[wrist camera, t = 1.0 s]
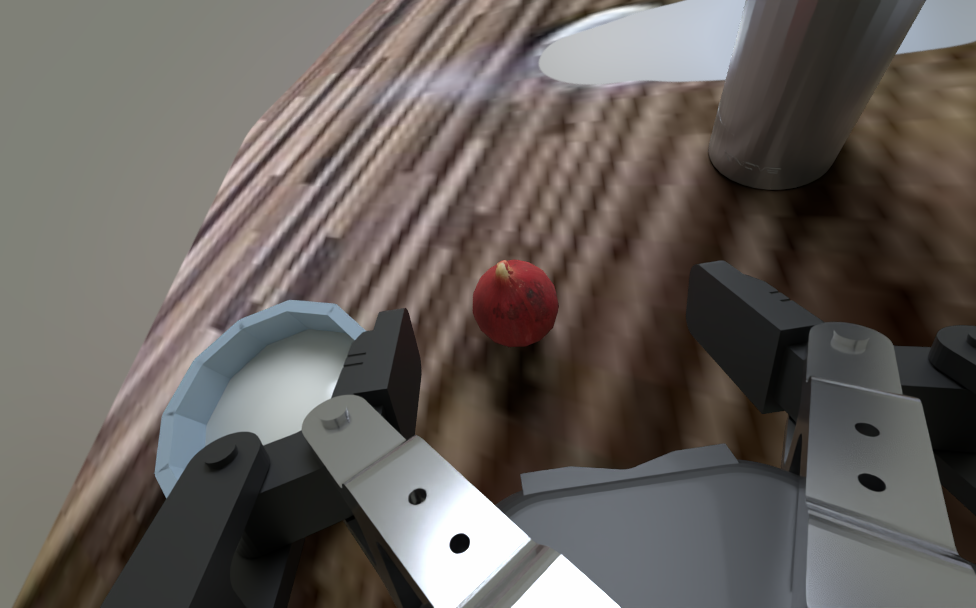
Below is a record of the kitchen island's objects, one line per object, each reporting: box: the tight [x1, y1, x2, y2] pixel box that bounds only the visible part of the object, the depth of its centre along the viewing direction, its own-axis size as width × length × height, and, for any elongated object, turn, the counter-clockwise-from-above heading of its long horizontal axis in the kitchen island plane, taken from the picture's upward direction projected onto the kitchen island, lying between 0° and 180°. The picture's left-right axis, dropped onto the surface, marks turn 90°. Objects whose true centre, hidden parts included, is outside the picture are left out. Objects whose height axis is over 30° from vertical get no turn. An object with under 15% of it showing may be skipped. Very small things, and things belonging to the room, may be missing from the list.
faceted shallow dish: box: [155, 300, 365, 498], centre depth 32 cm, size 16×16×4 cm
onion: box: [473, 260, 559, 347], centre depth 30 cm, size 6×6×8 cm
